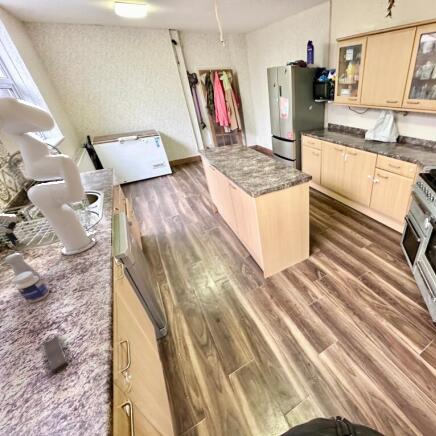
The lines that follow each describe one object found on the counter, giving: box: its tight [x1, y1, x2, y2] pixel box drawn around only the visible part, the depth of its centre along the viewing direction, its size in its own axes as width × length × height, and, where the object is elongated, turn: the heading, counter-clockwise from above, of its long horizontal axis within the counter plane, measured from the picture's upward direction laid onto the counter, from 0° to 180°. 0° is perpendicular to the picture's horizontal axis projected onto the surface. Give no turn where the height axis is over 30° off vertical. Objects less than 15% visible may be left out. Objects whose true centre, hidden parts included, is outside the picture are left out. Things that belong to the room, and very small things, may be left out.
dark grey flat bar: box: [43, 335, 69, 374], centre depth 63 cm, size 12×3×1 cm, turn 51°
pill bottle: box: [12, 271, 50, 303], centre depth 81 cm, size 6×6×10 cm
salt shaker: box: [4, 252, 41, 280], centre depth 87 cm, size 6×6×13 cm
